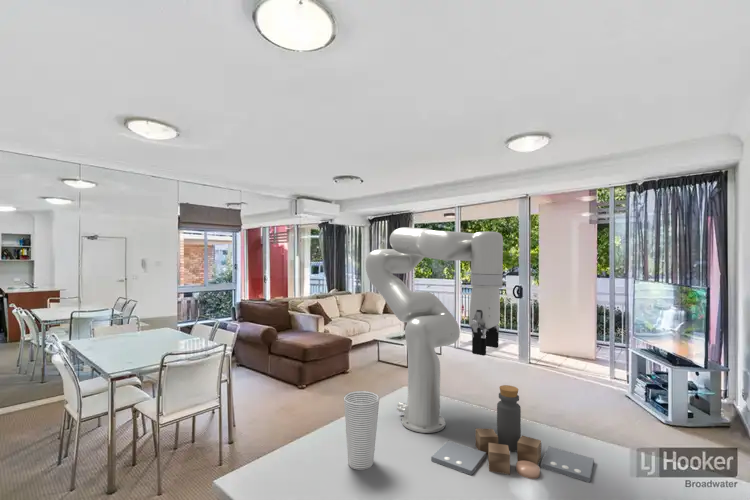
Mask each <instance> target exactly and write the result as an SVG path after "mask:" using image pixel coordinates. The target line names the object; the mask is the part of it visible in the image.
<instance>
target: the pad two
mask: <svg viewBox="0 0 750 500" xmlns="http://www.w3.org/2000/svg"><path fill="white" fill-rule="evenodd" d="M486 457H487V455H486V452H483V451H480V450H478V449H477V448H473V447H470V446H467V445H464V444H460V443H458V442H454V441H451V440H448V441H446V442H445V443H444V444H442V446H441V447H440V448H439V449H438V450H437V451H436V452H435V453H434V454H432V455H431V457H430V461H431V462H433V463H436V464H439V465H442V466H444V467H448V468H450V469H453V470H456V471H458V472H462V473H465V474H467V475H470V476H472V475H473V474H474V473H475V472H476V470H477V469H478V468H479V466H480V465H481V464H482V462H483V461H484V460H485V459H486Z"/></svg>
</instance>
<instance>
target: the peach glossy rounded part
mask: <svg viewBox="0 0 750 500" xmlns="http://www.w3.org/2000/svg"><path fill="white" fill-rule="evenodd" d="M515 471H516V473H517V474H518V475H519V476H521V477H522V478H526V479H530V480H534V479H538V478H539V477H540V475H541V473H540V472H541V467H540V466H539V464H538V465H536V464H535V463H533V462H530V461H517V462H516V463H515Z"/></svg>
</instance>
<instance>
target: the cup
mask: <svg viewBox="0 0 750 500" xmlns="http://www.w3.org/2000/svg"><path fill="white" fill-rule="evenodd" d="M343 402H344V406H343V407H344V419H345V421H344V422H345V433H346V435H345V437H346V438H345V439H346V448H347V450H346V452H347V453H346V454H347V464H348V466H349V467H350V468H351V469H354V470H359V471H365V470H367V469H370V468H371V467H372V466H373V465H374V460H375V450H376V448H375V447H376V438H377V428H378V419H379V418H378V417H379V408H380V407H379V406H380V396H379V394H377V393H376V392H372V391H368V390H355V391H350V392H348V393H346V394H345V395H344V396H343Z"/></svg>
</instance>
